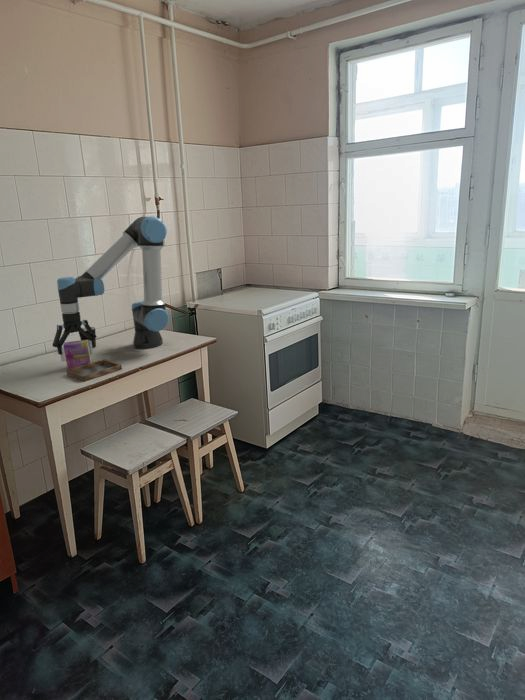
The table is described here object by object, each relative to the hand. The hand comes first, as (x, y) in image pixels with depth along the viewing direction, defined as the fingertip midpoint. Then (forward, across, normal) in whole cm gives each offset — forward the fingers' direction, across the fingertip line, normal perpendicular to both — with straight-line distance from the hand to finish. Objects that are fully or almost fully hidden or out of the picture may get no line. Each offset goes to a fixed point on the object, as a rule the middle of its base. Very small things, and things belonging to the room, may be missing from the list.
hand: (77, 357), depth 228 cm
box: (+5, 0, 0) cm, 5 cm away
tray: (+4, 0, +14) cm, 15 cm away
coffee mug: (+4, -21, -27) cm, 35 cm away
